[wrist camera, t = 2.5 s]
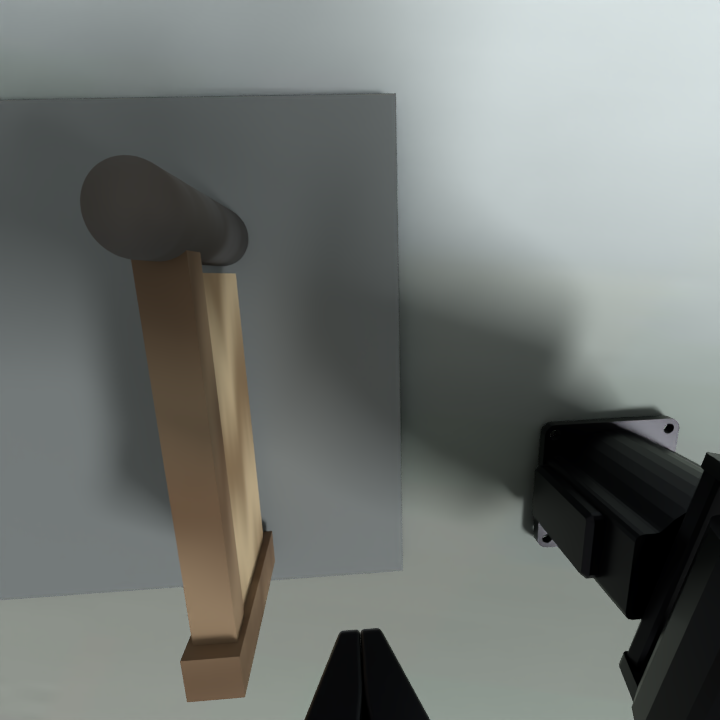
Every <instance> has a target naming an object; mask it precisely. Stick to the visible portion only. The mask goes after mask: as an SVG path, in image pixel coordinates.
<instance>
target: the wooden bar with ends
mask: <svg viewBox="0 0 720 720" xmlns="http://www.w3.org/2000/svg"><path fill="white" fill-rule="evenodd" d="M80 207H81V213H82V217H83V220H84V222H85V225H86V227H87V229H88V230H89V232H90V233H91V235H92V236H93V237H94V239H95V240H96V241H97V242H98V243H99V244H100V245H101V246H102V247H104V248H105V249H106V250H108V251H109V252H111V253H113V254H115V255H117V256H119V257H123V258H126V259H131V263H132V270H133V276H134V282H135V288H136V295H137V301H138V307H139V313H140V319H141V326H142V332H143V338H144V344H145V351H146V357H147V363H148V369H149V376H150V382H151V388H152V394H153V400H154V407H155V413H156V419H157V425H158V432H159V438H160V444H161V450H162V456H163V463H164V469H165V475H166V481H167V488H168V494H169V500H170V506H171V513H172V519H173V525H174V531H175V537H176V544H177V550H178V556H179V562H180V569H181V575H182V581H183V587H184V593H185V600H186V606H187V612H188V618H189V625H190V631H191V636H190V639H189V641H188V644H187V646H186V649H185V651H184V654H183V656H182V658H181V661H180V663H181V669H182V675H183V680H184V686H185V692H186V698H187V702H195V701H207V700H218V699H230V698H241V697H245V694H246V690H247V685H248V681H249V676H250V672H251V667H252V663H253V658H254V654H255V649H256V644H257V640H258V635H259V631H260V626H261V622H262V617H263V613H264V608H265V604H266V599H267V595H268V590H269V586H270V581H271V577H272V572H273V568H274V563H275V556H274V546H273V535H272V531H264V532H263V530H262V520H261V510H260V501H259V491H258V482H257V472H256V462H255V453H254V443H253V433H252V424H251V414H250V405H249V395H248V385H247V376H246V366H245V357H244V347H243V337H242V328H241V318H240V309H239V299H238V289H237V280H236V274H235V273H203V272H202V265H210V266H228V265H232V264H234V263H236V262H237V261H239V260H240V259H241V258H242V257H243V255H244V254H245V252H246V250H247V247H248V231H247V228H246V226H245V224H244V222H243V221H242V219H241V218H240V217H239V216H238V215H237V214H236V213H234V212H233V211H231V210H230V209H228V208H226V207H225V206H223V205H221V204H220V203H218V202H216V201H215V200H213V199H211V198H210V197H208V196H206V195H205V194H203V193H201V192H200V191H198V190H196V189H195V188H193V187H191V186H190V185H188V184H187V183H185V182H183V181H182V180H180V179H178V178H177V177H175V176H173V175H172V174H170V173H168V172H167V171H165V170H163V169H162V168H160V167H158V166H157V165H155V164H153V163H152V162H150V161H148V160H146V159H143V158H140V157H137V156H131V155H118V156H113V157H109V158H107V159H105V160H103V161H101V162H99V163H98V164H97V165H96V166H94V167H93V168H92V169H91V171H90V172H89V173H88V175H87V176H86V178H85V180H84V182H83V185H82V189H81V194H80Z"/></svg>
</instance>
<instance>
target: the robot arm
mask: <svg viewBox="0 0 720 720" xmlns="http://www.w3.org/2000/svg"><path fill="white" fill-rule="evenodd" d="M665 425H667V426H666V428H665V429H664V427H665ZM554 430H556V433H555V435H554V436H551V437H550V434H551V432H552V431H554ZM678 431H679V424H678V422H677V421H676V420H675V419H673V418H670V417H668V416H646V417H629V418H611V419H593V420H576V421H558V422H549V423H547V424H545V425H544V426H543V427H542V429H541V433H540V447H539V462H538V466H537V468H536V470H535V478H534V493H533V508H532V515H533V516H534V517H535V519H534V538H535V539H536V541H537V542H538V543H539V545H541V546H542V547H556V546H558V547H559V548H560V550H561V551H562V552H563V553H564V555H565V556H566V557H567V558H568V559H569V561H570V562H571V563H572V564H573V566H574V567H575V568H576V569H577V571H578V572H579V573H580V574H581V575H582V576H584V577H585V578H594V579H595V581H596V582H597V583H598V584H599V585H600V586H601V588H602V589H603V590H604V591H605V592H606V594H607V595H608V596H609V597H610V598H611V600H612V601H613V602H614V603H615V604H616V605H617V607H618V608H619V609H620V610H621V611H622V613H623V614H624V615H625V616H626V617H627V618H628V619H631V620H635V619H641V622H640V624H639V627H638V629H637V631H636V634H635V636H634V639H633V641H632V643H631V646H630V648H629V651H625V652H624V653H623V656H622V658H621V661H620V663H619V667H620V669H621V672H622V675H623V677H624V680H625V682H626V685H627V687H628V690H629V692H630V695H631V697H632V700H633V705H632V711H633V716H634V720H720V454H716V453H710V452H707V453H706V455H705V458H704V460H703V463H702V465H701V466H700V465H698V464H697V463H695V462H693V461H691V460H689V459H687V458H685V457H683V456H681V455H679V454H678V453H676V452H675V451H676V444H677V438H678ZM545 534H548V535H547V536H546V537H543V536H544V535H545ZM360 636H361V639H360ZM305 720H430V719H429V717H428V715H427V713H426V712H425V710H424V708H423V706H422V704H421V702H420V701H419V699H418V697H417V695H416V693H415V691H414V689H413V688H412V686H411V684H410V682H409V680H408V678H407V677H406V675H405V673H404V671H403V669H402V667H401V666H400V664H399V662H398V660H397V658H396V656H395V654H394V653H393V651H392V649H391V647H390V645H389V643H388V642H387V640H386V638H385V636H384V634H383V632H382V631H381V630H380V629H379V628H373V629H363V630H362V631H361V634H360V632H359V631H358V630H347V631H341V632H340V633H339V635H338V637H337V640H336V642H335V645H334V647H333V650H332V652H331V655H330V657H329V660H328V662H327V665H326V667H325V670H324V672H323V675H322V677H321V680H320V682H319V685H318V687H317V690H316V692H315V695H314V697H313V700H312V702H311V705H310V707H309V710H308V712H307V715H306V717H305Z"/></svg>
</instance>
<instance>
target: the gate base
mask: <svg viewBox="0 0 720 720" xmlns="http://www.w3.org/2000/svg"><path fill="white" fill-rule="evenodd" d="M118 155H131V156H137V157H140V158H143V159H146V160H148V161H150V162H152V163H153V164H155V165H157V166H158V167H160V168H162V169H163V170H165V171H167V172H168V173H170V174H172V175H173V176H175V177H177V178H178V179H180V180H182V181H183V182H185V183H187V184H188V185H190V186H191V187H193V188H195V189H196V190H198V191H200V192H201V193H203V194H205V195H206V196H208V197H210V198H211V199H213V200H215V201H216V202H218V203H220V204H221V205H223V206H225V207H226V208H228V209H230V210H231V211H233V212H234V213H236V214H237V215H238V216H239V217H240V218H241V219H242V221H243V222H244V224H245V226H246V228H247V231H248V247H247V250H246V252H245V254H244V255H243V257H242V258H241V259H240V260H239V261H237V262H236V263H234V264H232V265H228V266H210V265H202V272H203V273H235V274H236V280H237V289H238V299H239V309H240V318H241V328H242V337H243V347H244V357H245V366H246V376H247V385H248V395H249V405H250V414H251V424H252V433H253V443H254V453H255V462H256V472H257V482H258V491H259V501H260V510H261V520H262V530H263V532H264V531H272V535H273V546H274V556H275V563H274V568H273V572H272V577H271V580H281V579H295V578H309V577H322V576H336V575H350V574H363V573H377V572H391V571H403V551H402V483H401V415H400V347H399V279H398V212H397V144H396V93H394V94H332V95H270V96H208V97H146V98H84V99H23V100H0V600H9V599H22V598H36V597H50V596H63V595H77V594H91V593H104V592H118V591H131V590H145V589H159V588H172V587H183V581H182V575H181V569H180V562H179V556H178V550H177V544H176V537H175V531H174V525H173V519H172V513H171V506H170V500H169V494H168V488H167V481H166V475H165V469H164V463H163V456H162V450H161V444H160V438H159V432H158V425H157V419H156V413H155V407H154V400H153V394H152V388H151V382H150V376H149V369H148V363H147V357H146V351H145V344H144V338H143V332H142V326H141V319H140V313H139V307H138V301H137V295H136V288H135V282H134V276H133V270H132V263H131V259H126V258H123V257H119V256H117V255H115V254H113V253H111V252H109V251H108V250H106V249H105V248H104V247H102V246H101V245H100V244H99V243H98V242H97V241H96V240H95V239H94V237H93V236H92V235H91V233H90V232H89V230H88V229H87V227H86V225H85V222H84V220H83V217H82V213H81V207H80V194H81V189H82V185H83V182H84V180H85V178H86V176H87V175H88V173H89V172H90V171H91V169H92V168H93V167H94V166H96V165H97V164H98V163H99V162H101V161H103V160H105V159H107V158H109V157H113V156H118Z"/></svg>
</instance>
